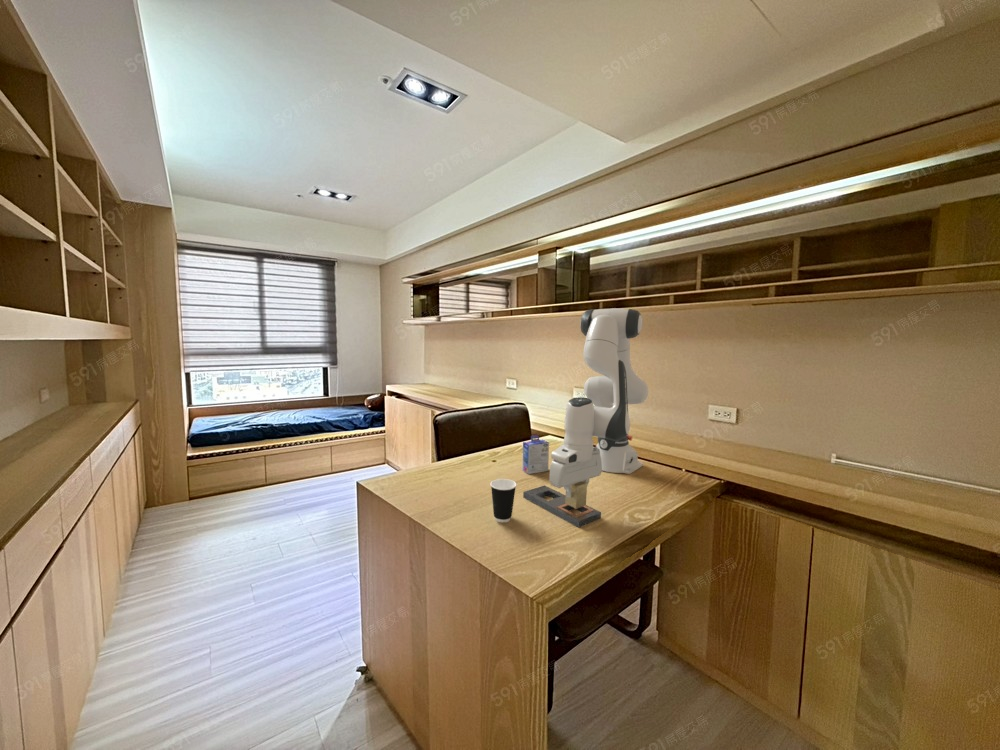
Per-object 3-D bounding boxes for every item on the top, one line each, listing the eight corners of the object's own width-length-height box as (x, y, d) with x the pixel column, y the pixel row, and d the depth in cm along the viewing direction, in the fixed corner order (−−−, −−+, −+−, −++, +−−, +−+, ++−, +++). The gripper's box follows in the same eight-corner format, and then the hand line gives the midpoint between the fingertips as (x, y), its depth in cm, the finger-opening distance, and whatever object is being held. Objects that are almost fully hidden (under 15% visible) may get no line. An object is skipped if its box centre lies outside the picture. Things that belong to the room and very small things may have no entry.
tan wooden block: (574, 500, 121) (575, 478, 120) (585, 505, 117) (587, 483, 116) (565, 503, 118) (566, 481, 117) (576, 508, 114) (577, 486, 114)
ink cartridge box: (542, 467, 161) (543, 433, 159) (549, 471, 156) (550, 437, 154) (521, 470, 157) (522, 435, 155) (528, 474, 152) (529, 439, 150)
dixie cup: (484, 518, 115) (484, 483, 114) (503, 510, 120) (503, 476, 119) (502, 528, 109) (503, 491, 108) (521, 519, 115) (522, 484, 114)
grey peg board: (544, 490, 136) (544, 484, 136) (600, 518, 116) (601, 511, 116) (523, 497, 130) (523, 491, 130) (578, 527, 110) (579, 520, 110)
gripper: (591, 443, 125) (589, 484, 126) (546, 453, 112) (545, 498, 114) (607, 448, 120) (605, 490, 121) (562, 459, 107) (560, 506, 109)
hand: (575, 494), depth 117 cm, fingers closed on tan wooden block, 4 cm apart
